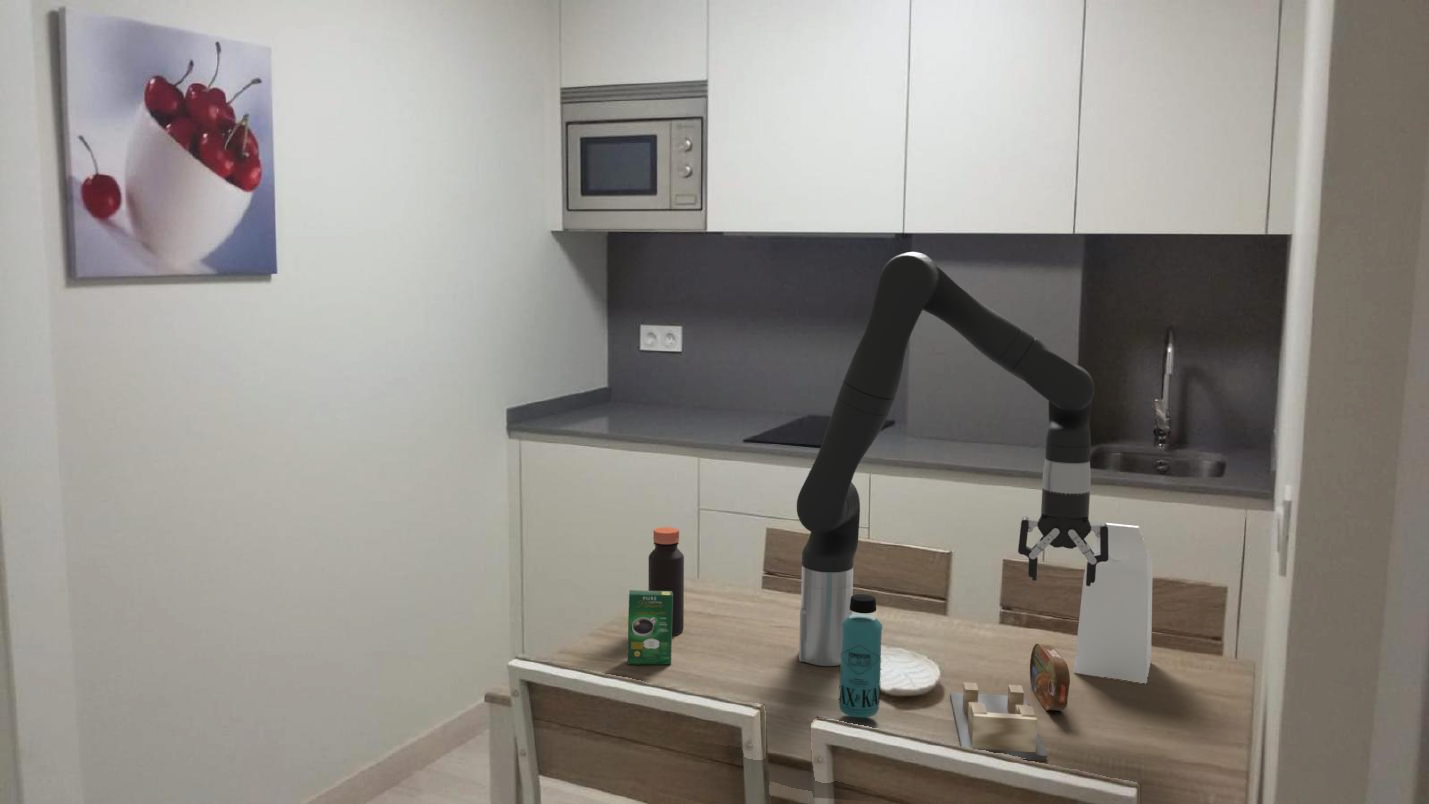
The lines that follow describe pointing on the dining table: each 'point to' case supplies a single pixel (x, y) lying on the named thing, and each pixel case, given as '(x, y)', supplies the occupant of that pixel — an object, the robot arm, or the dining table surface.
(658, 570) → the vinegar
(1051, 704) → the tin
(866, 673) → the beverage bottle
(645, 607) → the coffee box
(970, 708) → the clip
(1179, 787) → the dining table surface
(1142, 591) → the milk
